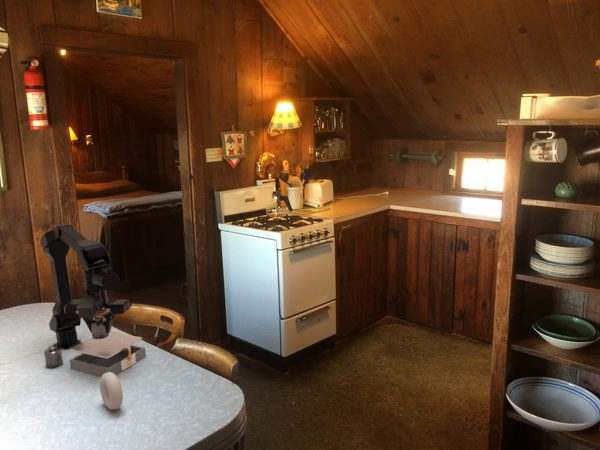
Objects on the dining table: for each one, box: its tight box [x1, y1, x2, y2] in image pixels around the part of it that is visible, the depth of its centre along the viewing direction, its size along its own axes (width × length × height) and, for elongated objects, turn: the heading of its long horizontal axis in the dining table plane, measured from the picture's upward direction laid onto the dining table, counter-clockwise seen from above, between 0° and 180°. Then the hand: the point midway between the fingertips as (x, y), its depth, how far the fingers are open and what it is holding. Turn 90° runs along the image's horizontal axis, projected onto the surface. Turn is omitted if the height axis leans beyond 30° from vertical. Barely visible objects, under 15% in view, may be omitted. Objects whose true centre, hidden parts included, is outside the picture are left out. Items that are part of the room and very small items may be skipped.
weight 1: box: [44, 344, 64, 370], centre depth 165 cm, size 5×5×6 cm
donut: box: [99, 372, 124, 411], centre depth 139 cm, size 10×4×10 cm, turn 41°
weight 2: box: [91, 315, 109, 339], centre depth 161 cm, size 5×5×6 cm
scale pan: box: [70, 330, 143, 360], centre depth 165 cm, size 17×15×4 cm
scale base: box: [69, 344, 147, 378], centre depth 166 cm, size 16×16×3 cm
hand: (100, 332), depth 161 cm, fingers closed on weight 2, 5 cm apart
